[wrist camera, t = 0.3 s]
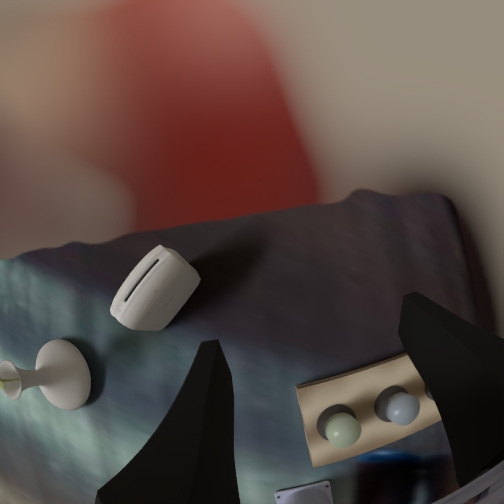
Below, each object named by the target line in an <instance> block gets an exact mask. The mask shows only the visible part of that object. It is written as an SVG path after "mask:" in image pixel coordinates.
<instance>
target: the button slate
mask: <svg viewBox="0 0 504 504" xmlns="http://www.w3.org/2000/svg"><path fill="white" fill-rule="evenodd" d="M419 411H420V402H419V400H418V399H417V398H416V397H415V396H412V395H410V394H407V393H403V392H400V393H396V394H394V395H393V396H391V397H390V398H389V400H388V401H387V403H386V405H385V415H386V417H387V418H388V419H389V420H390V421H392V422H394V423H395V424H397V425H399V426H405V425H408V424H410V423H412V422H413V421H414V420H415V419H416V418H417V416H418V414H419Z"/></svg>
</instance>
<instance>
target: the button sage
mask: <svg viewBox="0 0 504 504" xmlns="http://www.w3.org/2000/svg"><path fill="white" fill-rule="evenodd" d="M361 431H362V429H361V425H360V423H359V422H358V421H357V420H356V419H355V418H354V417H352V416H351V415H350V414H348V413H338V414H335V415H333V416H332V417H330V418H329V419H328V421H327V422H326V424H325V428H324V432H325V435H326V437H327V438H328V440H329V441H330V443H331V444H332V445H333V446H335V447H337V448H346V447H349V446H351V445H353V444H354V443H356V442H357V440H358V439H359V438H360V435H361Z"/></svg>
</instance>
